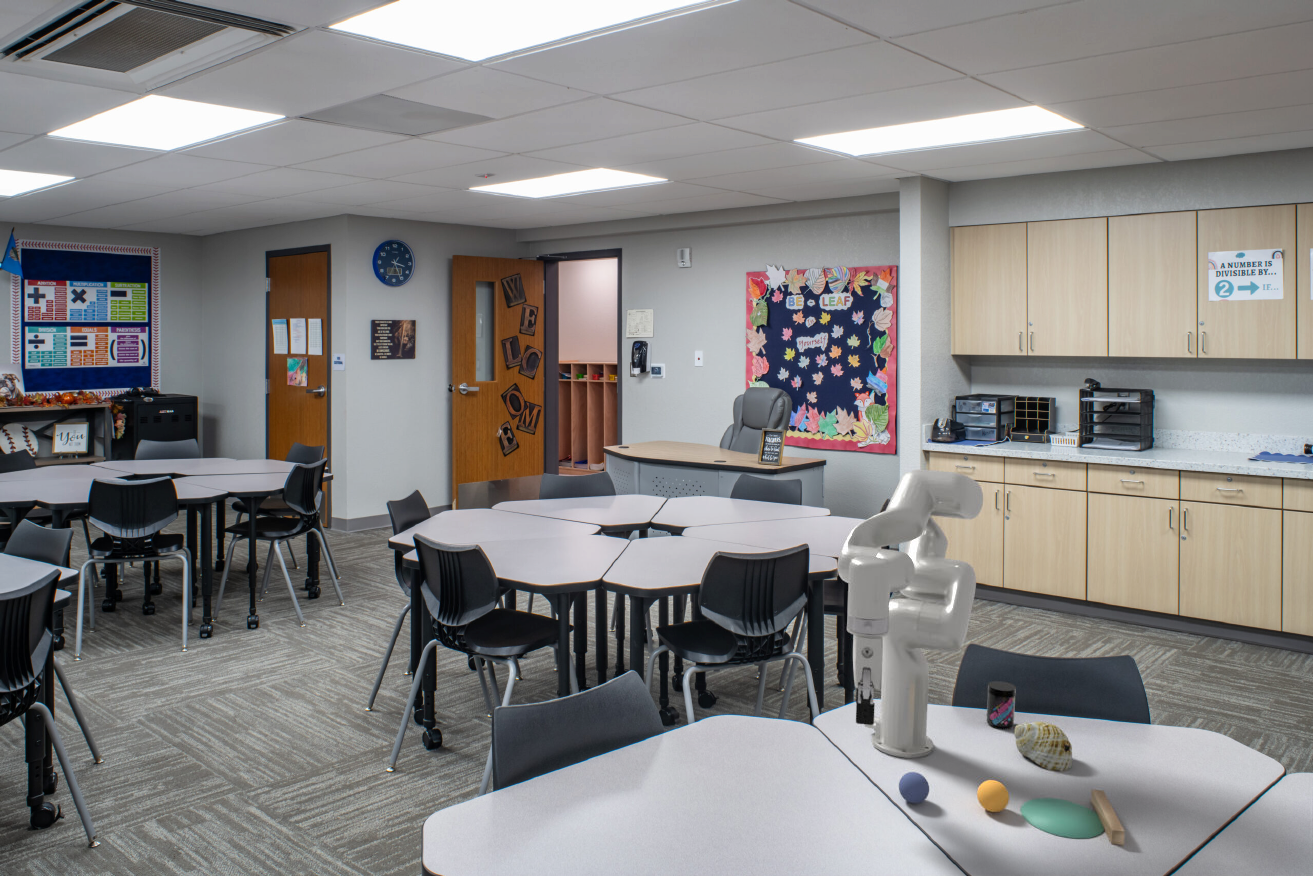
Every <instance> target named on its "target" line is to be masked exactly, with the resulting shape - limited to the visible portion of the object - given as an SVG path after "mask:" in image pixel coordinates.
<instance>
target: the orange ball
mask: <svg viewBox="0 0 1313 876" xmlns="http://www.w3.org/2000/svg"><path fill="white" fill-rule="evenodd" d="M976 796H977V800H978V803H979V804H980V806H981V807H982V808H983V809H985V810H986V811H988V812H991V813H999V812H1001V811H1003V810H1004V809H1005V808H1006V807H1007V806H1008V805H1009V802H1010V797H1009V792H1008V790H1007V788H1006V786H1005V785H1003V783H1001V782H1000V781H998V780H995V779H994V780H993V779H988V780H985V781H983V782H982V783H981V784H980V785H979V786H978V789H977V793H976Z"/></svg>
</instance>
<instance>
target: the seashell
mask: <svg viewBox="0 0 1313 876" xmlns="http://www.w3.org/2000/svg"><path fill="white" fill-rule="evenodd" d="M1014 738H1015V745H1016V749H1017V751H1018V752H1019V753H1020V754H1021V755H1022V756H1024V757H1027V758H1029V759H1030V760H1031V761H1032V762H1034V763H1036V764H1037V765H1038V766H1040V767H1041V768H1044V769H1046V770H1048V771H1054V772H1055V771H1059V772H1064V771H1068V770H1070V769H1071V767H1072V763H1073V759H1074V758H1073V747H1072V743H1071V741H1070V740H1069V738H1068V736H1067V735H1066V734H1065V732H1064V731H1063V730H1062V729H1061V728H1060V727H1058V726H1057V725H1055V724H1052V723H1050V722H1046V721H1036V722H1024V723H1019V724H1017V725H1016V726H1015V727H1014Z"/></svg>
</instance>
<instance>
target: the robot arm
mask: <svg viewBox="0 0 1313 876" xmlns="http://www.w3.org/2000/svg"><path fill="white" fill-rule="evenodd" d="M983 504H984V493H983V489H982V487H981V485H980V483H978V482H977V481H976V480H975V479H973V478H971V477H969V476H968V475H965V474H962V473H958V472H955V471H954V472H952V471H939V470H929V469H913V470H909V471H908V472H906V473H905V474H903V475H902V476H901V478H900V480H899V482H898V483H897V486H896V488H895V490H894V492H893V494H892V496H891V499H890V501H889V502H888V505H887V506H886V509H885V510H884V511H882V512H879V513H877V514H875V515H873V516H871V517H870V518H867V519H866V520H863V521H862V522H860V523H859V524H857V525H856V526H855V527H854V528H853V529H852V530H851V531H850V532H849V533H848V536H847V538H846V539H845V541H844V543H843V545H842V547H841V550H840V552H839V554H838V559H837V565H836V566H837V567H836V568H837V574H838V576H839V577H840V579H841V580H842V581H844V582H845V583H847V584H848V588H847V589H848V591H847V623H846V631H847V632H848V633H850V634H851V635H853V637H852V639H853V641H852V642H853V643H852V662H853V663H852V664H853V665H852V666H853V667H852V668H853V680H854V687H855V688H856V689H855V703H856V705H855V706H856V707H855V723H856V724H857V725H864V727H865V728H868V729H872V730H873V731H874V733H873V735H872V737H871V742H872V745H873V746H874V747H875V748H876V749H877V750H879V751H880V752H883V753H884V754H887V755H891V756H894V757H899V758H906V759H907V758H908V759H910V758H922V757H925V756H927V755H929V754H931V753H932V752H933V751H934V741H933V740H932V739H931V738H930V736H928V735H927V730H928V729H927V726H928V704H929V703H928V702H929V701H928V699H929V682H930V681H929V677H930V668H929V663H928V660H927V658H926V656H925V654H924V652H923V651H922V649H924V650H930V651H933V652H934V651H935V652H940V653H947V654H954V653H957V652H959V651H960V650H961V649H962V647H963V645H964V644H965V641H966V637H967V633H968V629H969V624H970V619H971V614H972V608H973V604H974V599H975V595H976V594H975V593H976V588H977V587H976V586H977V577H976V572H975V569H974V567H973V566H972V565H971V564H970V563H968V562H966V561H963V560H958V559H951V558H946V554H947V550H948V544H949V543H948V539H947V537H946V535H945V533H944V531H943V530H942V528H941V527H940V526H939V524H938V523H937V522H936V521H935V519H934V518H933V516H934V517H940V518H941V517H942V518H952V519H959V520H973V519H976V518H978V516H979V514H980V513H981V510H982V508H983ZM904 543H905V544H906V545H905V549H904V552H903V551H899V550H893V549H888V548H887V549H886V548H884V547H887V546H894V545H899V544H904ZM882 547H883V548H882ZM894 592H900V593H901V594H902V595H903V596H904V597H907V598H902V597H901V598H892V599H891V598H890V597H891V593H894ZM875 689H876V690H878V691H880V692H881V693H880V695H881V697H880V717H876V716H875V702H874V692H875V691H874V690H875Z"/></svg>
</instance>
